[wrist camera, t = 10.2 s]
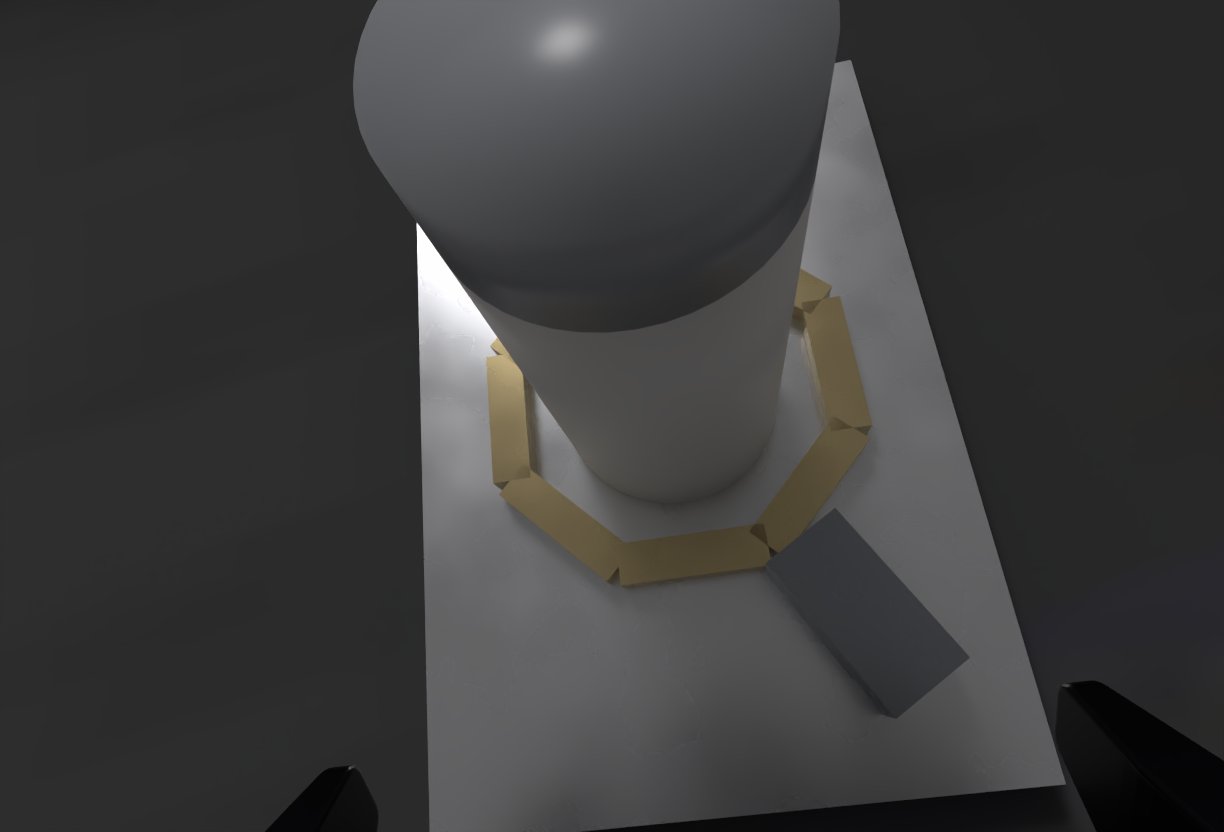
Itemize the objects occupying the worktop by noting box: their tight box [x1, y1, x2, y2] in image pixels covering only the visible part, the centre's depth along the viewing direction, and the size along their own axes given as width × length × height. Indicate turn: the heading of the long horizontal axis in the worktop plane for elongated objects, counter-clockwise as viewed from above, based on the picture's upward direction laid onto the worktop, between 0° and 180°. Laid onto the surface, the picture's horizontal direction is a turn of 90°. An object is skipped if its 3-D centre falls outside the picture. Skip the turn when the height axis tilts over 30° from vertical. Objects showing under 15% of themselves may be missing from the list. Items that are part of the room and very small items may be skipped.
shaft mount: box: [417, 60, 1066, 832], centre depth 19 cm, size 20×14×2 cm
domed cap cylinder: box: [353, 0, 840, 503], centre depth 14 cm, size 6×6×12 cm
